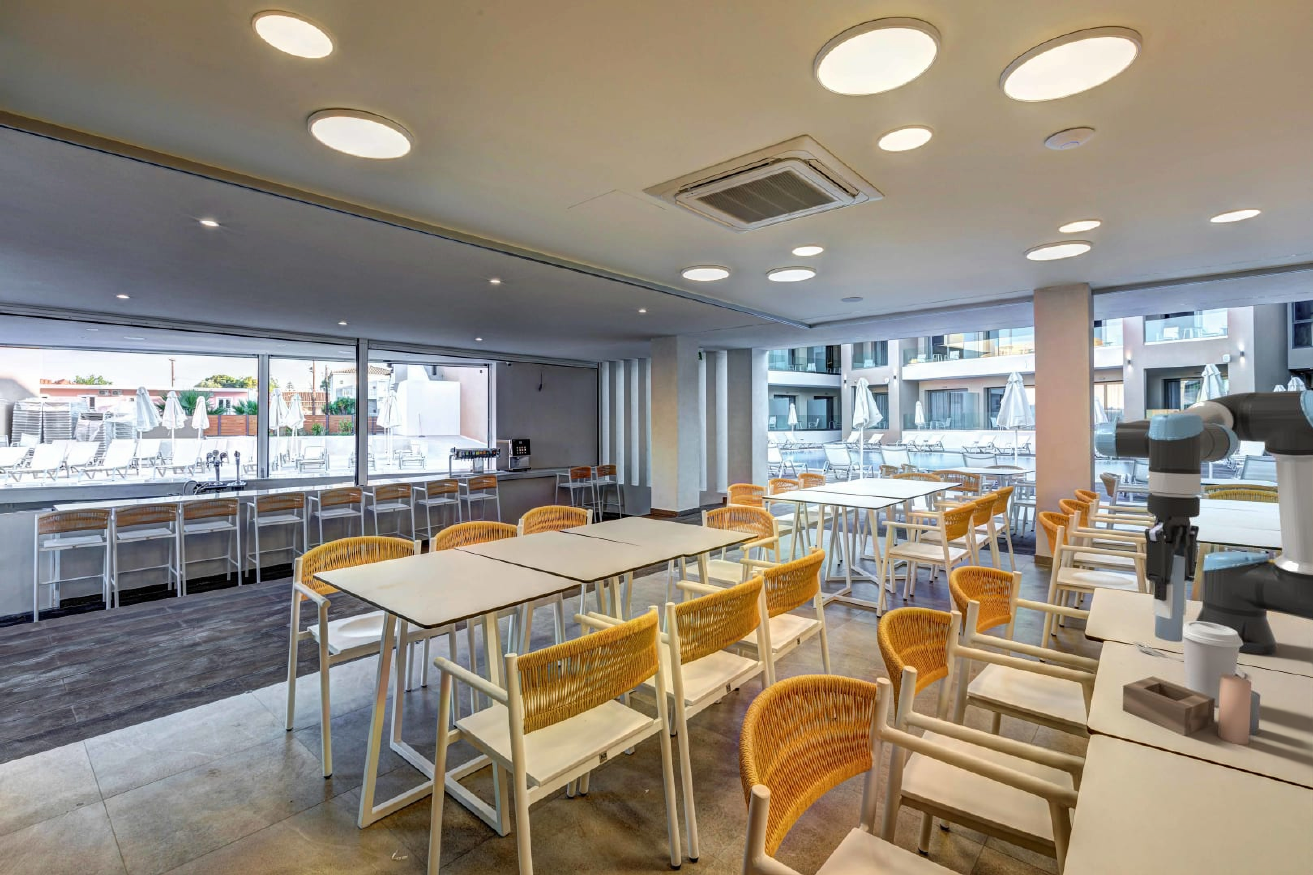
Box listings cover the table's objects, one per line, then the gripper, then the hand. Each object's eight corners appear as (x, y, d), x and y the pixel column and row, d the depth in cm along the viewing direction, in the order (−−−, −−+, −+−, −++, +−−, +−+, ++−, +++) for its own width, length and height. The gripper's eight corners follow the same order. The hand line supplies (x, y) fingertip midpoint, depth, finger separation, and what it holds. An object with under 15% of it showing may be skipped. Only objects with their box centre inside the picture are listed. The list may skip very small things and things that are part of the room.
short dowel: (1234, 720, 111) (1236, 685, 111) (1263, 731, 107) (1264, 694, 107) (1223, 725, 109) (1225, 689, 109) (1252, 736, 106) (1253, 698, 105)
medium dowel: (1224, 730, 108) (1227, 672, 107) (1253, 741, 104) (1256, 681, 103) (1213, 735, 106) (1215, 676, 106) (1241, 746, 102) (1244, 686, 102)
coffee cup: (1254, 713, 114) (1257, 638, 113) (1197, 708, 115) (1200, 635, 115) (1217, 690, 123) (1220, 620, 122) (1166, 686, 125) (1167, 618, 124)
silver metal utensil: (1131, 636, 143) (1136, 632, 146) (1129, 650, 143) (1135, 645, 146) (1244, 669, 127) (1248, 663, 130) (1243, 685, 128) (1246, 678, 130)
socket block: (1152, 699, 119) (1152, 676, 119) (1214, 723, 110) (1214, 698, 110) (1122, 710, 115) (1123, 685, 115) (1184, 735, 106) (1185, 709, 106)
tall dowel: (1162, 632, 114) (1164, 552, 114) (1187, 639, 111) (1189, 557, 110) (1150, 635, 113) (1152, 554, 112) (1175, 643, 109) (1177, 559, 109)
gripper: (1174, 489, 117) (1171, 603, 118) (1124, 494, 111) (1120, 614, 112) (1222, 494, 110) (1218, 614, 111) (1171, 499, 104) (1167, 627, 105)
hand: (1169, 614), depth 112 cm, fingers closed on tall dowel, 4 cm apart
